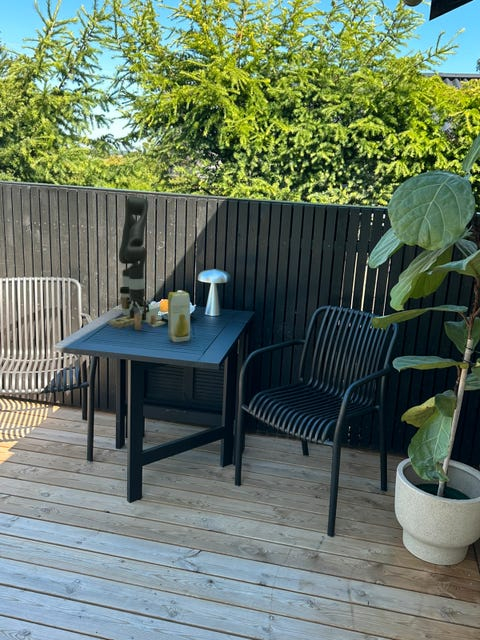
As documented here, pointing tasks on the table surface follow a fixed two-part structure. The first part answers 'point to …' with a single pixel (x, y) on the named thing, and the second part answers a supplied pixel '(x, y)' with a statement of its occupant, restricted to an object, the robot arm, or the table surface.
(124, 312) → the coffee cup
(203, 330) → the table surface
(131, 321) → the socket board
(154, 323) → the pattern board
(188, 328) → the juice carton
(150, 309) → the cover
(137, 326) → the terracotta peg
